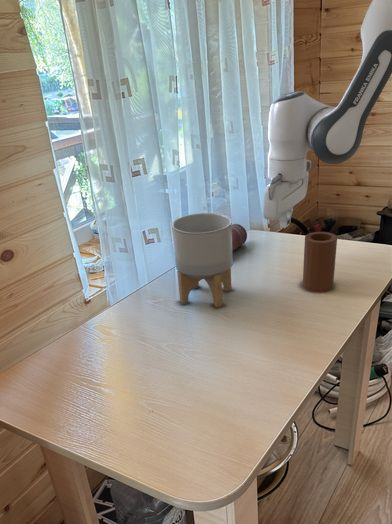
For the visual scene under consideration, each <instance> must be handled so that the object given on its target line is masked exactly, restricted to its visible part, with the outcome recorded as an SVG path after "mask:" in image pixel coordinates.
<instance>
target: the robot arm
mask: <svg viewBox="0 0 392 524" xmlns="http://www.w3.org/2000/svg"><path fill="white" fill-rule="evenodd" d="M360 39H361V44H362V54H361V55H362V57H361V60H360V63H359V66H358V69H357V71H356V73H355V74H354V76H353V78H352V80H351V82H350V84H349V85H348V87H347V89H346V90H345V93H344V94H343V97H342V99H341V101H340V102H339V103H338V105H337V106H336V107H335V106H333V105H329V104H326V103H323V102H321V101H319V100H316V99H315V98H313V97H311V96H309V95H308V94H307V93H306V92H305V91H299V90H298V91H291V92H287V93H283V94H281V95H279V96H277V97H276V98H275V99H273V101H272V102H271V105H270V109H269V114H268V125H267V127H268V128H267V137H268V138H267V139H268V142H269V149H268V153H267V178H268V179H269V184H267V185H266V186H265V189H264V193H263V195H264V196H263V204H262V206H263V207H262V215H263V216H262V217H263V218H264V219H265V220H271V221H279V228H280V229H287V228H288V227H289V226H290V225H291V223H292V222H291V220H292V216H293V211H294V207H295V206H297V205H298V204H299V203H300V202H301V201H303V200H304V199H305V198H306V195H307V193H308V186H309V176H310V174H309V173H310V172H309V171H310V170H311V168H312V161H311V160H309V159H307V155H308V154H307V153H309V152H311V151H313V152H314V155H315V156H316V157H317V158H318V159H319V160H320V161H321V162H322V163H325V164H329V165H337V164H342V163H344V162H346V161H348V160H349V159H351V158H352V157H353V156H354V155H355V154H356V152H357V151H358V149H359V148H360V145H361V143H362V139H363V134H364V130H365V126H366V122H367V119H368V117H369V115H370V113H371V112H372V110H373V108H374V106H375V105H376V103H377V100H378V99H379V97H380V96H381V94H382V92H383V90H384V88H385V87H386V85H387V83H388V81H389V80H390V78H391V76H392V0H372V1H371V3H370V4H369V6H368V8H367V11H366V12H365V16H364V18H363V21H362V24H361V25H360Z"/></svg>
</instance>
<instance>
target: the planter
mask: <svg viewBox="0 0 392 524" xmlns="http://www.w3.org/2000/svg"><path fill="white" fill-rule="evenodd" d="M232 223H233V222H232V219H231V218H230V217H229V216H227V215H224V214H220V213H214V212H213V213H212V212H201V213H192V214H188V215H183V216H181V217H179V218H176V219H175V220H173V222H172V223H171V230H172V231H171V232H172V240H173V241H172V242H173V251H174V253H173V254H174V264H175V268H176V270H177V281H178V282H177V283H178V292H179V303H181V304H182V305H186V304H188V303H189V296H190V293H191V291H192V289H193V290H195V289H197V288H200V286H199V285H200V282H201V281H202V280H204V281H205V282H206V283H207V285H208V288H209V290H210V292H211V295H212V299H213V306H214V307H216V308H220V307H223V306H224V305H223V304H224V303H223V290H224V291H225V292H229V291H232V267H233V264H234V259H233V255H234V253H233V251H232V225H233V224H232Z"/></svg>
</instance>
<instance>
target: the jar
mask: <svg viewBox="0 0 392 524" xmlns="http://www.w3.org/2000/svg"><path fill="white" fill-rule="evenodd" d="M337 245H338V236H337V235H336V234H335V233H332V232H328V231H314V232H309V233H307V234H306V235H304V247H303V268H302V288H303V289H305V290H306V291H309V292H313V293H324V292H328V291H330V290H332V289H333V287H334V280H335V271H336V270H335V269H336V257H337V256H336V255H337V247H338V246H337Z"/></svg>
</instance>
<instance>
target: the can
mask: <svg viewBox="0 0 392 524" xmlns="http://www.w3.org/2000/svg"><path fill="white" fill-rule="evenodd" d="M247 232H248V231H247V230H246V228H245V227H244V226H243V225H241V224H238V223H234V224H232V252H234V251H235V250H236V249H238V248H239V247H241V246H242V245H244V244H245V243H246V242H247V240H248V233H247Z"/></svg>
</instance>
